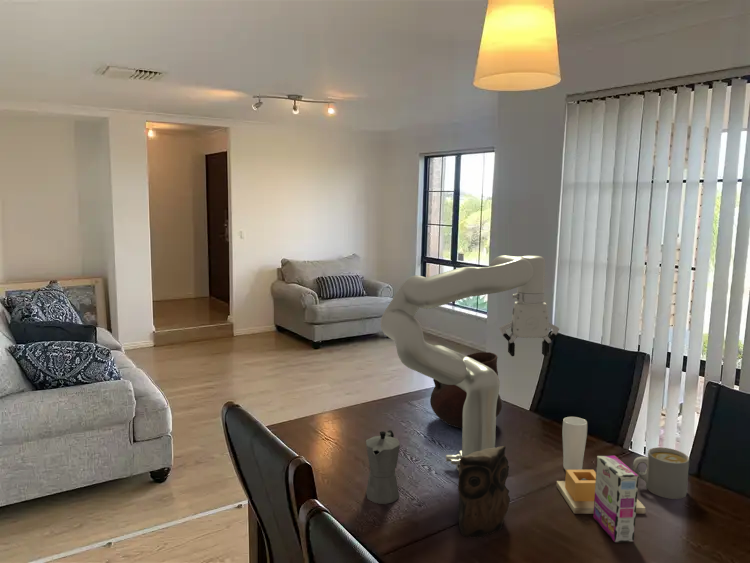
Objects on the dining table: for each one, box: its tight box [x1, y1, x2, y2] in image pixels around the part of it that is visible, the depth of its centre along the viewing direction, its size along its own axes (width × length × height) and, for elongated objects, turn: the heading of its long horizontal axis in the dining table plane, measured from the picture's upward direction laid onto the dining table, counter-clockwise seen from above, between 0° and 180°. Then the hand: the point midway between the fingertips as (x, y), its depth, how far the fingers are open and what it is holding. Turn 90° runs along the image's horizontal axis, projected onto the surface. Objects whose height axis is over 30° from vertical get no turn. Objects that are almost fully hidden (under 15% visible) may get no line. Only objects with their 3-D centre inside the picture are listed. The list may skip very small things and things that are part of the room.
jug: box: [429, 351, 503, 429], centre depth 201 cm, size 25×25×25 cm
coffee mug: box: [632, 446, 690, 500], centre depth 155 cm, size 13×10×10 cm
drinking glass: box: [561, 416, 588, 471], centre depth 166 cm, size 7×7×15 cm
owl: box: [457, 445, 511, 539], centre depth 136 cm, size 13×13×20 cm
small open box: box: [564, 469, 596, 501], centre depth 149 cm, size 7×7×5 cm
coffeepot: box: [365, 429, 401, 505], centre depth 152 cm, size 15×9×18 cm, turn 163°
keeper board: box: [556, 478, 646, 515], centre depth 150 cm, size 18×14×6 cm
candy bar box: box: [593, 455, 639, 543], centre depth 135 cm, size 11×5×16 cm, turn 5°
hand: (528, 355), depth 167 cm, fingers open, 9 cm apart
